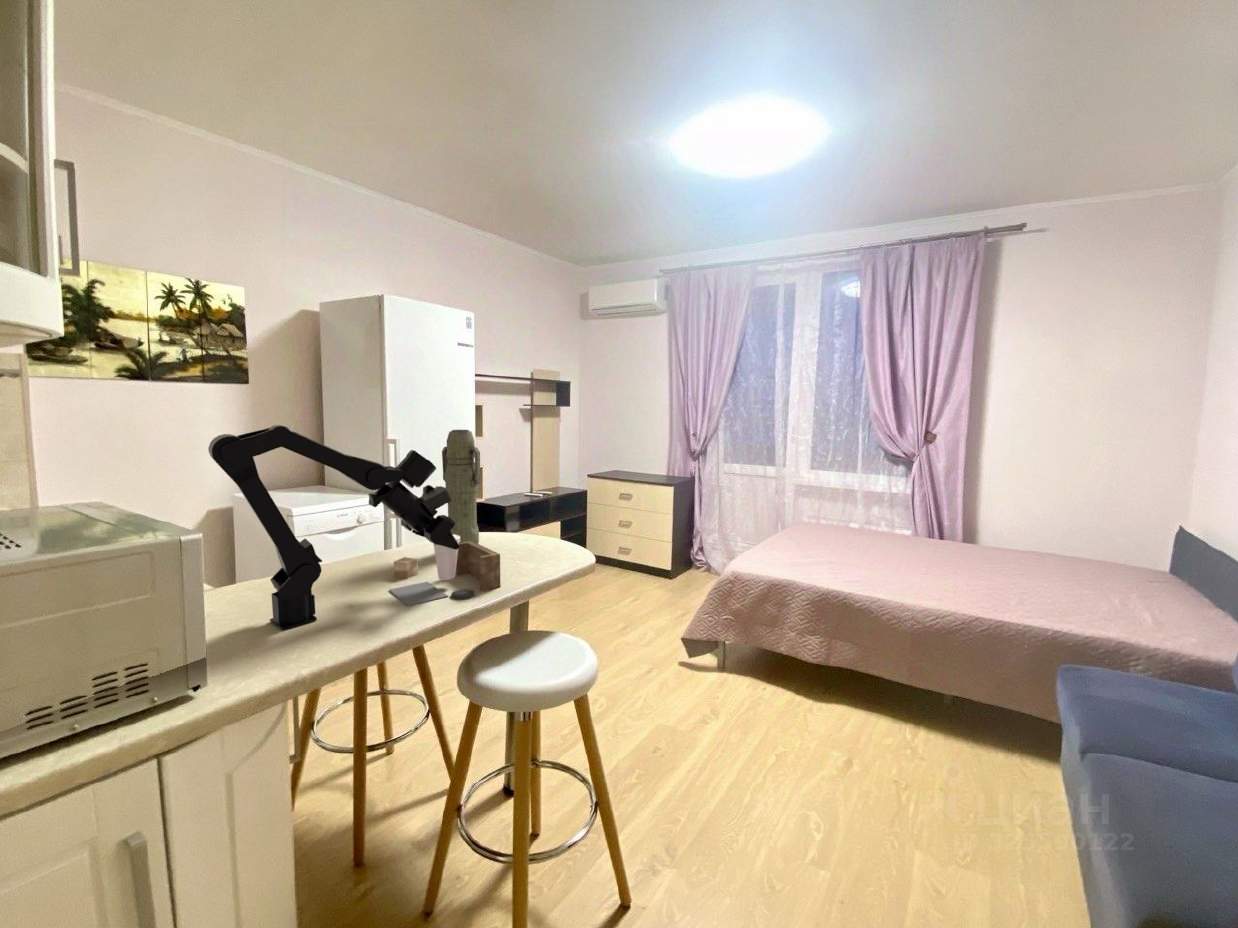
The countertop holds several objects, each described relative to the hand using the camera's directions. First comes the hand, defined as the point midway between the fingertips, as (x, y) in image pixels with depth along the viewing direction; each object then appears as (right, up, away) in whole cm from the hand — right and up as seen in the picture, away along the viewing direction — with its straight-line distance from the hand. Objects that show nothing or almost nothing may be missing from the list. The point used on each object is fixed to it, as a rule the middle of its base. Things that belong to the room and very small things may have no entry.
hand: (451, 544), depth 133 cm
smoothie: (-1, -8, 0) cm, 8 cm away
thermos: (-6, -6, +30) cm, 31 cm away
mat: (-6, -11, -4) cm, 13 cm away
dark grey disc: (+4, -11, -5) cm, 12 cm away
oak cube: (-14, -9, +9) cm, 19 cm away
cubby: (+5, -9, +5) cm, 12 cm away
